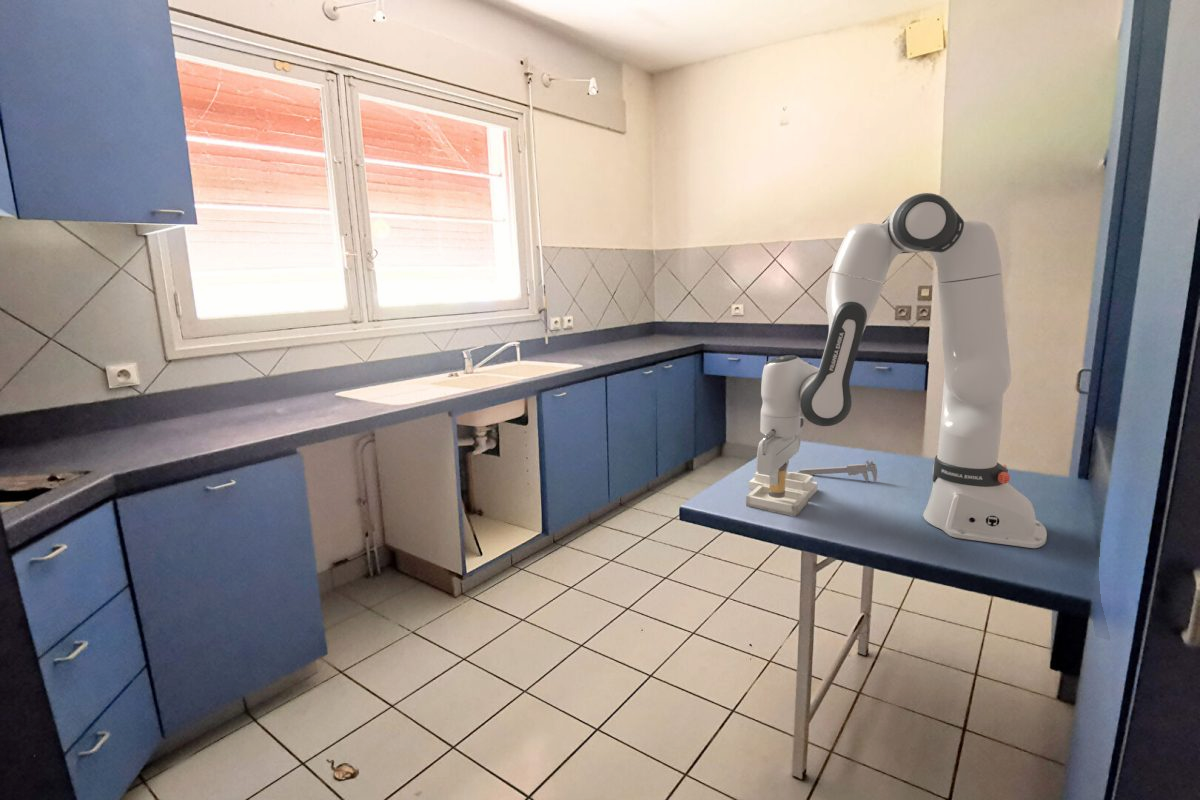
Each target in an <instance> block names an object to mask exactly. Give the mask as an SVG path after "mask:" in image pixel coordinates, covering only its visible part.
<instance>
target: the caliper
mask: <svg viewBox="0 0 1200 800" xmlns="http://www.w3.org/2000/svg"><path fill="white" fill-rule="evenodd" d="M795 472H796V473H802V474H808V475H810V476H813V475H827V474H828V475H829V474H846V473H847V475H848V476H850V477H851V476H857V475H859V474H862V476H863V478H864V480H865V481H866V483H869V482H870V480H869V479H870V478H869V474H868V472H871V475H872V478H873V483H877V477H878V468H877V466H876V463H874V462H873V459H870V462H869V460H868V459H866V463H855V464H854V463H853V464H847V465H846V466H832V467H815V468H813V467H811V468H800V469H799V470H797V471H796V470H795Z"/></svg>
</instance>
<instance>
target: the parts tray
mask: <svg viewBox="0 0 1200 800" xmlns="http://www.w3.org/2000/svg"><path fill="white" fill-rule="evenodd" d="M745 497H746V499H745V506H746V507H748V506H750V508H753V507H754V509H758V508H759V509H758V510H762V509H763V511H767V510H768V511H767V512H773V513H776V512H777V513H776V514H781V513H782V515H786V514H787V516H790V515H792V516H791V517H795V516H796V517H798V515H799V514H800V513H801V512H802V511H803V510H804V508H805V507H806V506H807V505H808V504H809V500H808V493H803V492H798V491H793V490H788V489H785V496H784V497H783V498H774V497H771V496H769V486H767V485H761V484H760V485H759V486H758V487H756V488H755V489H754V490H752V491H751V492H750V493H748V494H747V495H746V496H745ZM801 510H802V511H801Z"/></svg>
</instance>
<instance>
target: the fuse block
mask: <svg viewBox="0 0 1200 800" xmlns="http://www.w3.org/2000/svg"><path fill="white" fill-rule="evenodd" d="M813 478H814V476H813V475H808V474H802V473H796V471H787V472H786V480H785V489H788V490H793V491H798V492H803V493H808V501H809V500H810V499H811V498H812V497H813V495H815V493H816V492H818V489H819V488H818V485H819V484H818V483H819V482H818V481H817V482H816V481H814V479H813ZM760 484H761V485H767V486H769V484H770V477H769V475H765V474H760V473H758V472H757V471H756V472H754V476H753V478H751V479H750V480H749V482H748V489H749V490H752V489H753V490H754V489H755V488H756V487H758V486H759V485H760ZM753 490H752V491H753Z"/></svg>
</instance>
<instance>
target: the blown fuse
mask: <svg viewBox="0 0 1200 800" xmlns="http://www.w3.org/2000/svg"><path fill="white" fill-rule="evenodd" d="M786 466H787V464H786V463H785V464H784V465H783V466H781V467H780V468H779V471H778V477H779V483H778V484H777V485H771V484H769V496H771V497H774V498H783V497H784V496H785V480H786V474H787V471H786Z"/></svg>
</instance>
